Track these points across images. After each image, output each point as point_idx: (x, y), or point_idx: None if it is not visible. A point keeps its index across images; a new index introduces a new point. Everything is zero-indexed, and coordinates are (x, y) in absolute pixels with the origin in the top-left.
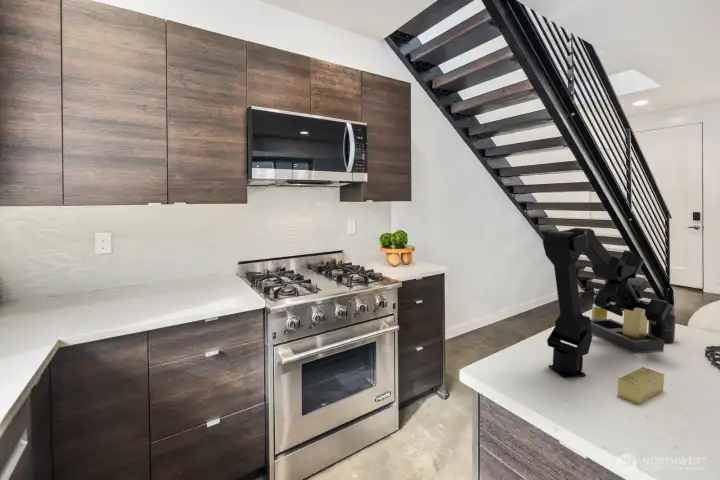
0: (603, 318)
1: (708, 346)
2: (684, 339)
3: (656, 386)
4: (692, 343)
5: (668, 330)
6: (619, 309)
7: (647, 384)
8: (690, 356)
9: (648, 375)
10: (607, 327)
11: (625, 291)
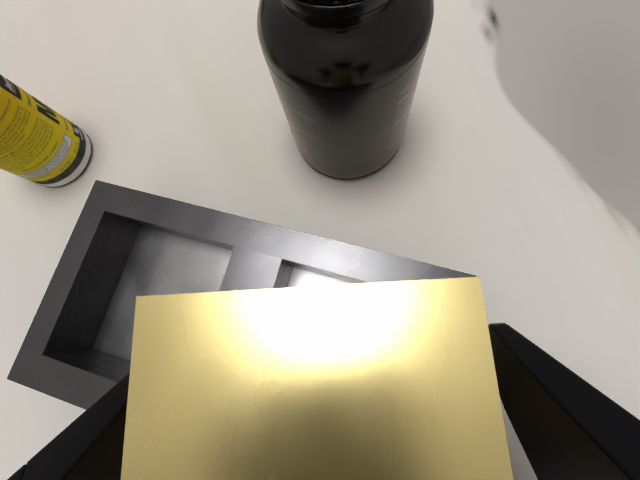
0: (60, 153)
1: (490, 31)
2: None
3: None
4: (439, 55)
5: (406, 113)
6: (113, 454)
7: None
8: (549, 232)
9: None
10: (132, 234)
11: None
